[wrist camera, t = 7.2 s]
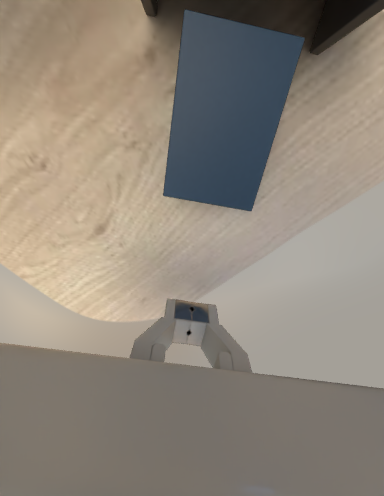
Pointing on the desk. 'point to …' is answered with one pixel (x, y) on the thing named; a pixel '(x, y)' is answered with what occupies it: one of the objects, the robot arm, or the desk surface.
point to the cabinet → (325, 19)
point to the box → (226, 108)
